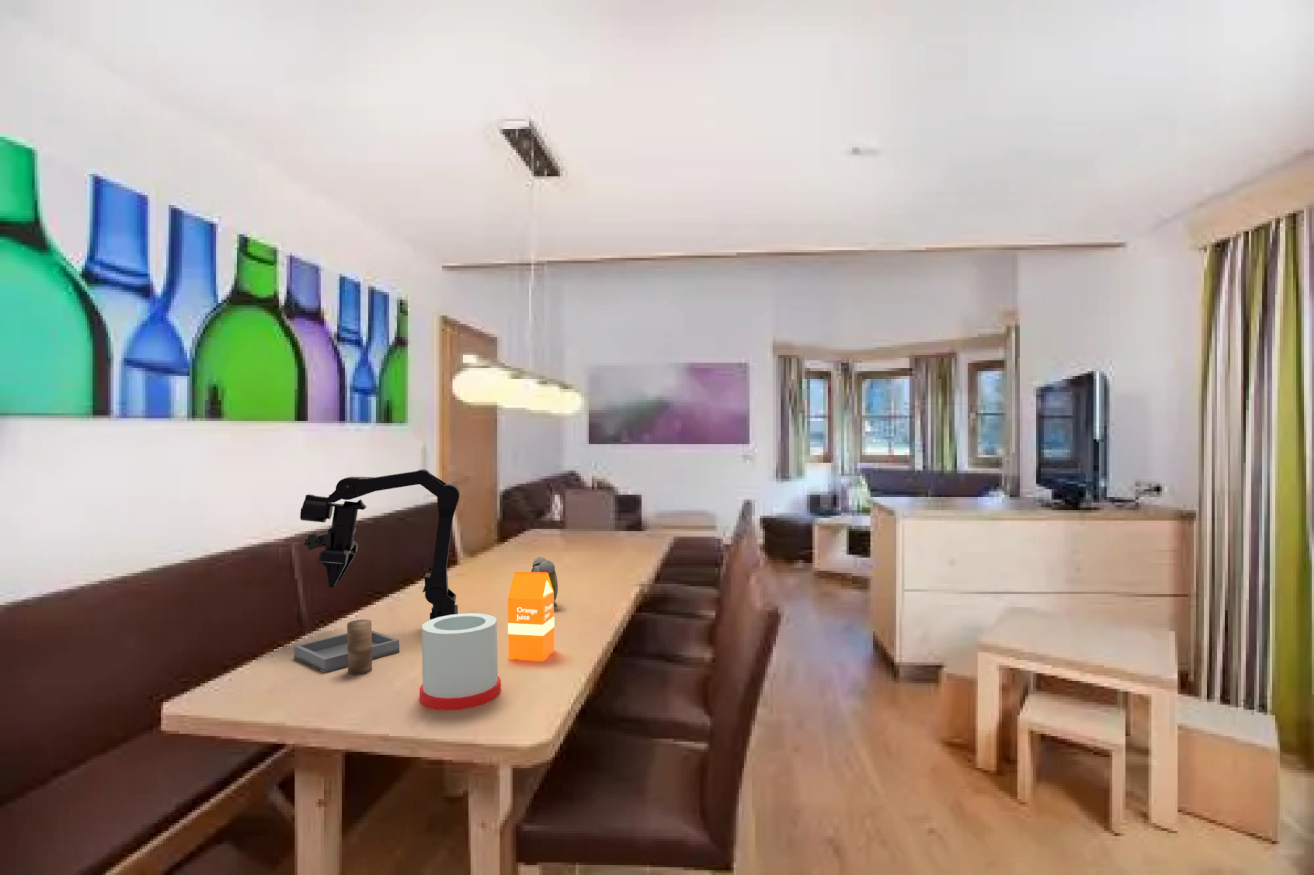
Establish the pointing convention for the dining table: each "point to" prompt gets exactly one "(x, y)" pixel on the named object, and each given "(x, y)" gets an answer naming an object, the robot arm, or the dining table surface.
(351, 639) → the brown upright cylinder
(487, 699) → the container
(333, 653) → the tray
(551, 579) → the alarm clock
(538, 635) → the orange juice
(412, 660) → the dining table surface
